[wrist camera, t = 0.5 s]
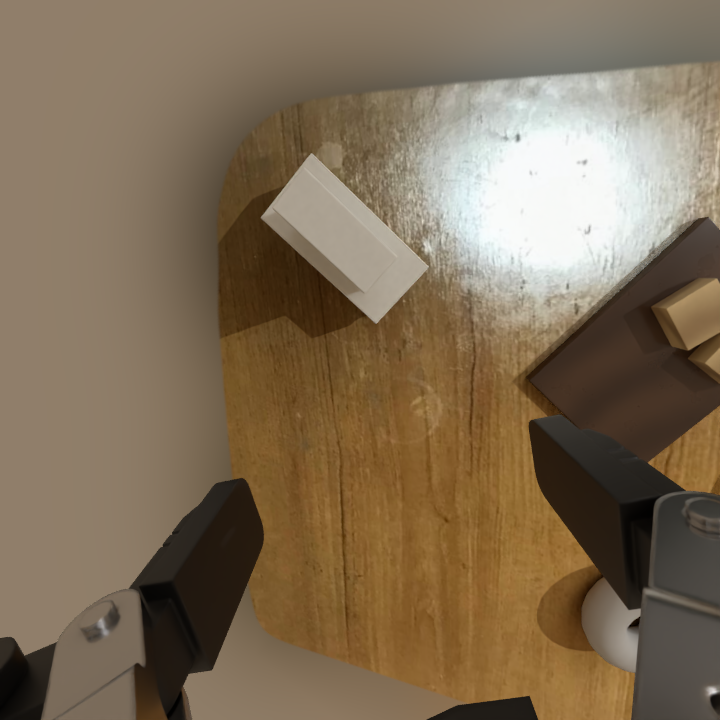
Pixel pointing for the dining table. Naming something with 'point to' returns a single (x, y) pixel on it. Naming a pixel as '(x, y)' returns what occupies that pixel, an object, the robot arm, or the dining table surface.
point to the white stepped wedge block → (343, 239)
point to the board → (637, 357)
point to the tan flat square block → (690, 313)
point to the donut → (610, 626)
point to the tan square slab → (708, 357)
